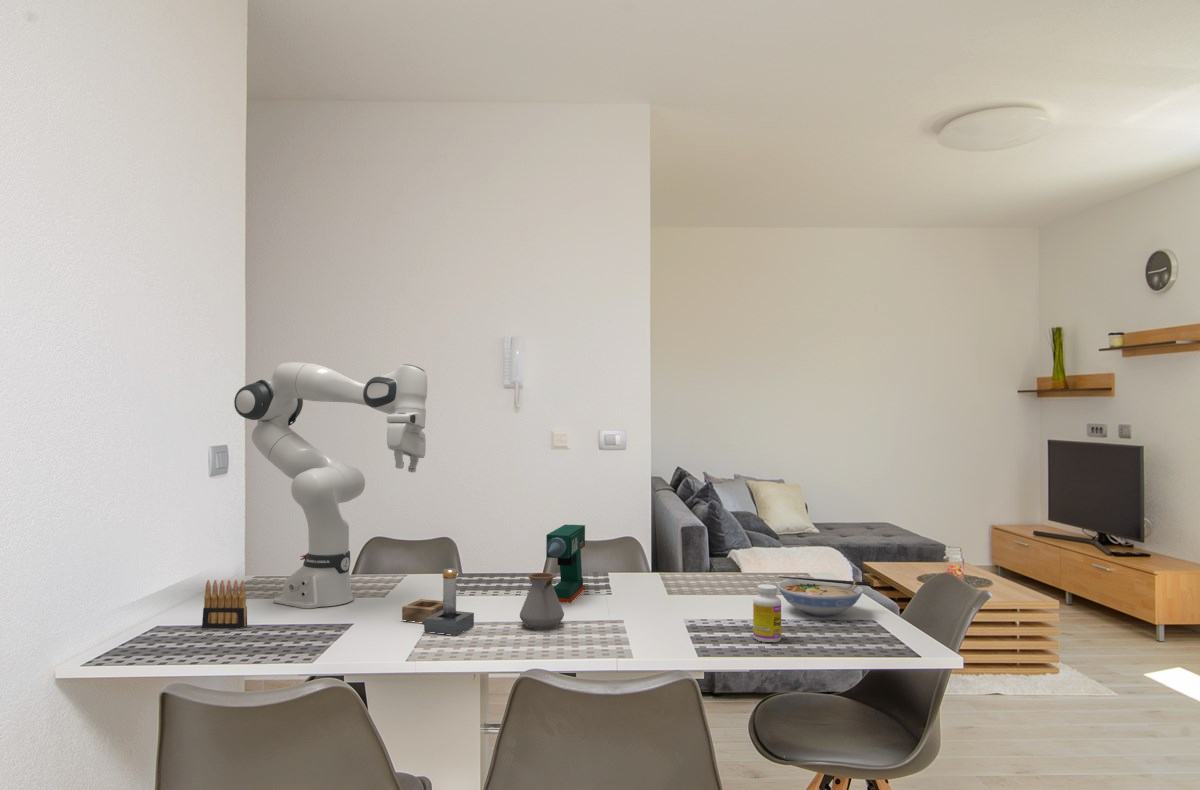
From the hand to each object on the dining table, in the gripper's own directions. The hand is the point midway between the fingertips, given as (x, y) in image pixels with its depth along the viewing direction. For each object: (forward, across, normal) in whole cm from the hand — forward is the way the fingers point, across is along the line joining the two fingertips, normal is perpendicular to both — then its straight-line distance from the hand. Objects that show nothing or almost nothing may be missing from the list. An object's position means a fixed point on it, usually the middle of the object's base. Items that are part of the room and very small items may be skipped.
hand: (405, 470), depth 209 cm
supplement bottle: (+42, +6, +97) cm, 105 cm away
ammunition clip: (+42, +14, -40) cm, 59 cm away
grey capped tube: (+41, +8, +18) cm, 46 cm away
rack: (+40, -1, +8) cm, 40 cm away
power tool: (+36, -25, +41) cm, 60 cm away
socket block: (+41, +8, +18) cm, 46 cm away
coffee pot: (+41, +6, +42) cm, 59 cm away
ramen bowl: (+37, -21, +114) cm, 121 cm away
